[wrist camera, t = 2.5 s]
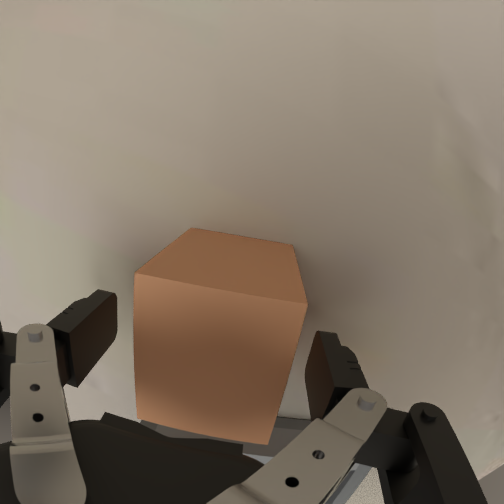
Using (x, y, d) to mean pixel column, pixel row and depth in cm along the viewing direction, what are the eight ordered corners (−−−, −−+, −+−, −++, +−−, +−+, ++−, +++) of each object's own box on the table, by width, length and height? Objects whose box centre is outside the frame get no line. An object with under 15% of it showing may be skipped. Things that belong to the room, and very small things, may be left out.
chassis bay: (365, 423, 18) (376, 460, 15) (314, 506, 21) (317, 536, 18) (154, 393, 18) (136, 429, 15) (158, 484, 22) (149, 514, 18)
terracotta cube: (292, 244, 16) (308, 304, 9) (270, 350, 17) (267, 444, 10) (191, 227, 16) (134, 272, 9) (180, 333, 17) (137, 418, 10)
